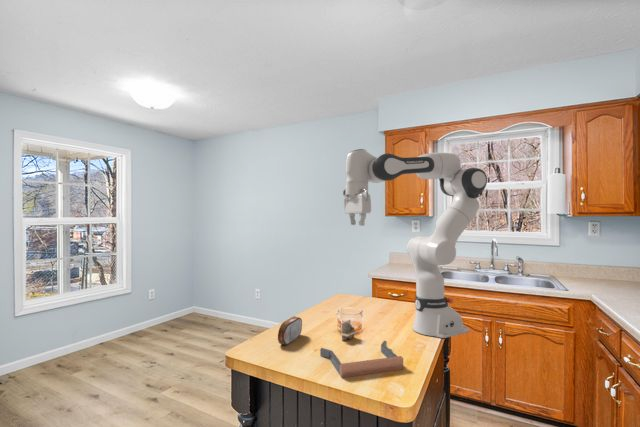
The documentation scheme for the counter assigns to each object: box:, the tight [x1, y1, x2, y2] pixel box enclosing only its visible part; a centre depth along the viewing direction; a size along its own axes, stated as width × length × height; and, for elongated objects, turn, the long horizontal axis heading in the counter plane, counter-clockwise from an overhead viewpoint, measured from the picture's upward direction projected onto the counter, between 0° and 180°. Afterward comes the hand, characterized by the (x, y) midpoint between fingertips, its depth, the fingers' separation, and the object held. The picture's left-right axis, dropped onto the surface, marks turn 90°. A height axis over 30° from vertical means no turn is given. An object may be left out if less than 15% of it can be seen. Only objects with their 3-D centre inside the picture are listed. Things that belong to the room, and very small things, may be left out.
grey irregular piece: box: [340, 319, 358, 341], centre depth 126 cm, size 3×7×7 cm, turn 139°
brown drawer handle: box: [319, 340, 404, 379], centre depth 108 cm, size 25×17×4 cm
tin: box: [277, 315, 303, 346], centre depth 126 cm, size 15×3×8 cm, turn 155°
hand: (357, 225), depth 129 cm, fingers open, 8 cm apart
